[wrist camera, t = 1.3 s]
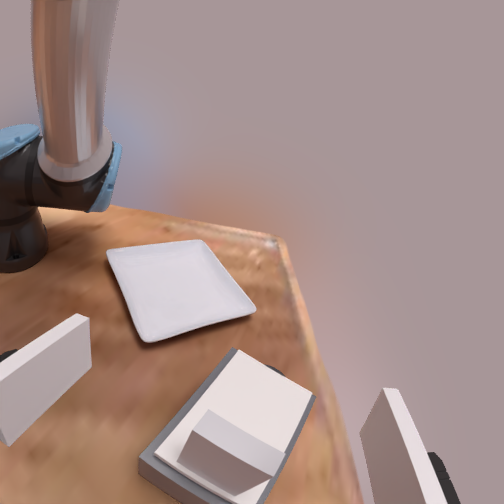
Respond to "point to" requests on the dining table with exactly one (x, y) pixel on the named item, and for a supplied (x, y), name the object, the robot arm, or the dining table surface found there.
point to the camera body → (179, 486)
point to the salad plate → (176, 288)
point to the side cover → (237, 431)
